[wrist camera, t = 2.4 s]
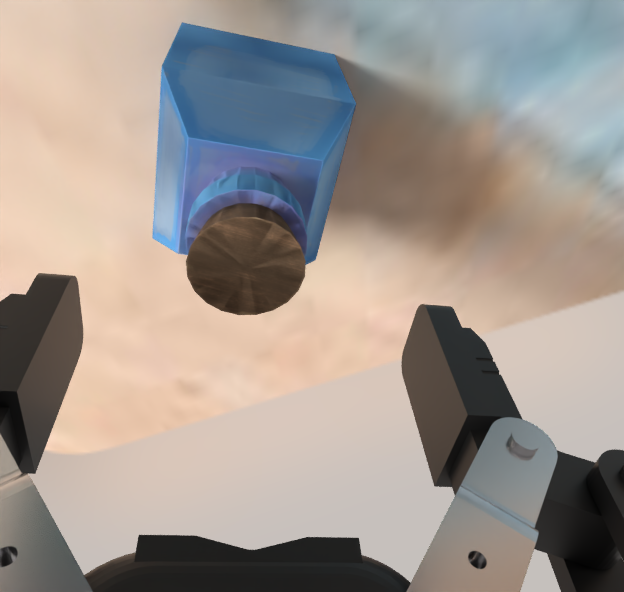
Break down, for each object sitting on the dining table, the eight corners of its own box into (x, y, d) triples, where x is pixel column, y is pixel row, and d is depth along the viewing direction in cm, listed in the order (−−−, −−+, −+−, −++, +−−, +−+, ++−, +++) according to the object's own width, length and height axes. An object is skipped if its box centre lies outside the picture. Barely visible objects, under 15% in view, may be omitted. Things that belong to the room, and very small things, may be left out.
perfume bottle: (334, 54, 23) (390, 182, 14) (304, 188, 27) (332, 363, 17) (182, 22, 22) (128, 137, 12) (171, 167, 26) (123, 343, 16)
